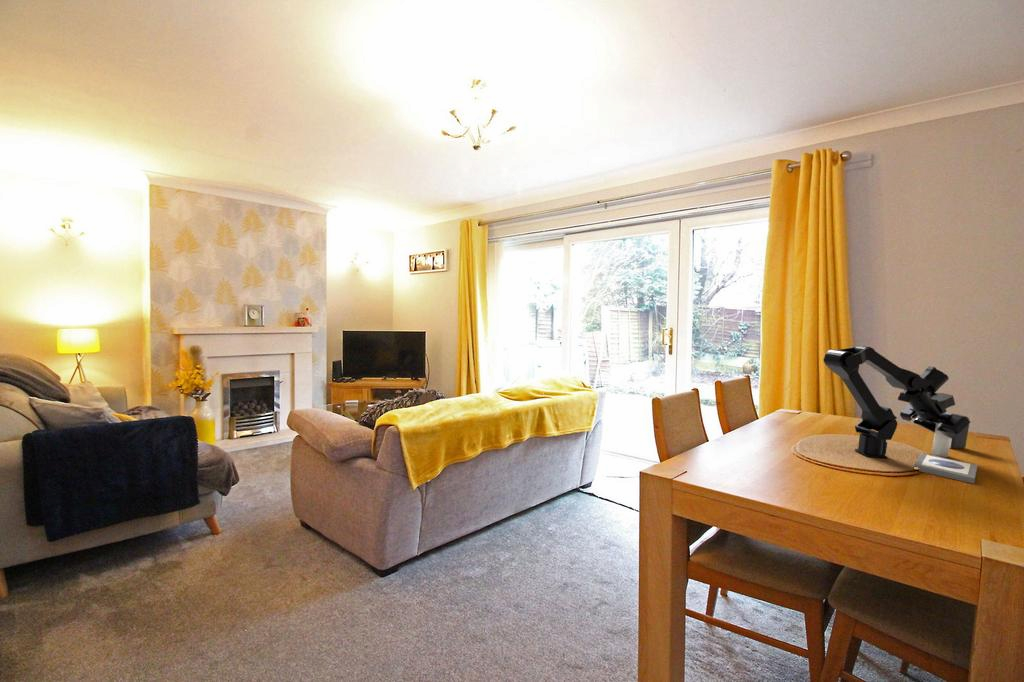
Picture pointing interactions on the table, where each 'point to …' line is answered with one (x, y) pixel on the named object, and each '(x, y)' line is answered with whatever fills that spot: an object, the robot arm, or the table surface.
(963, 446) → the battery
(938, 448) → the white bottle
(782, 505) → the table surface
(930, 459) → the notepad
